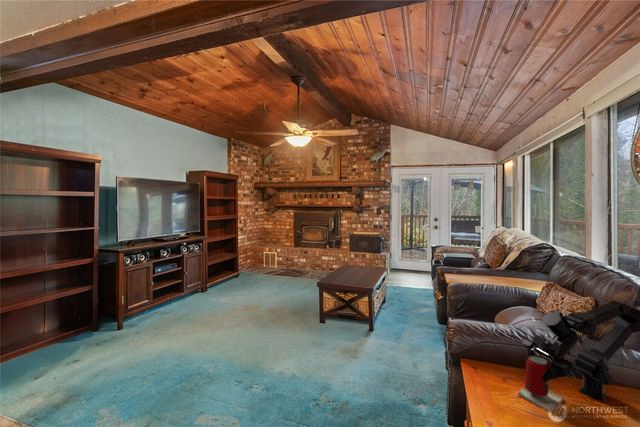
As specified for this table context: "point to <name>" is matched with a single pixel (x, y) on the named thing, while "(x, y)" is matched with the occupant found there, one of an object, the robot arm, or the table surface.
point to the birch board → (542, 399)
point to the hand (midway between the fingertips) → (533, 374)
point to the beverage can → (536, 376)
